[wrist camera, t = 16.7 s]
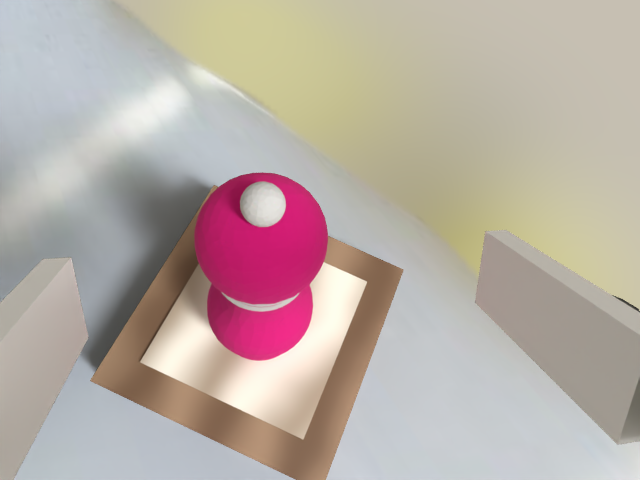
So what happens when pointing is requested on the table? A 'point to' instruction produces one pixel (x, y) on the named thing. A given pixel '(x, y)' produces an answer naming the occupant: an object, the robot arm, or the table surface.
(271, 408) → the walnut stand
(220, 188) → the pepper mill
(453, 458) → the table surface
